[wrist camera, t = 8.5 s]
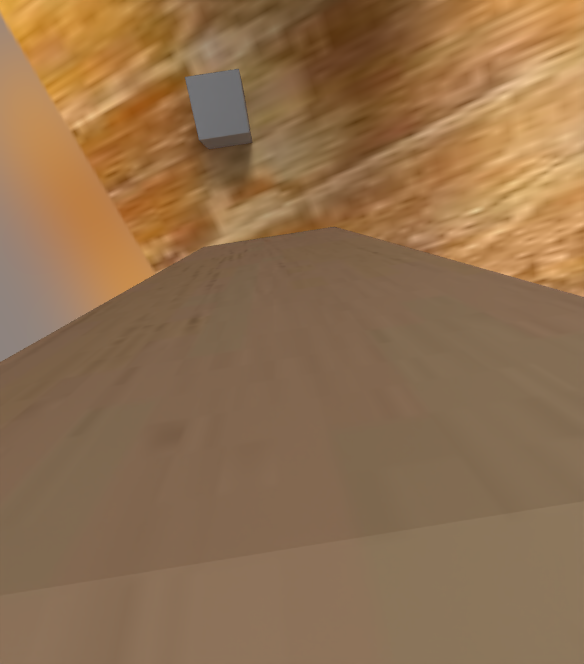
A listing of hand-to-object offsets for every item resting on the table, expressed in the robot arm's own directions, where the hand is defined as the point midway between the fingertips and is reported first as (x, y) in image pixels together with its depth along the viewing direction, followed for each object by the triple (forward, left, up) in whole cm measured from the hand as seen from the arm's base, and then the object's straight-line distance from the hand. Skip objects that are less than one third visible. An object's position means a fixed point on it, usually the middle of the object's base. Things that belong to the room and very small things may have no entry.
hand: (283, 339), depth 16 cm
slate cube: (-15, -7, -25) cm, 30 cm away
